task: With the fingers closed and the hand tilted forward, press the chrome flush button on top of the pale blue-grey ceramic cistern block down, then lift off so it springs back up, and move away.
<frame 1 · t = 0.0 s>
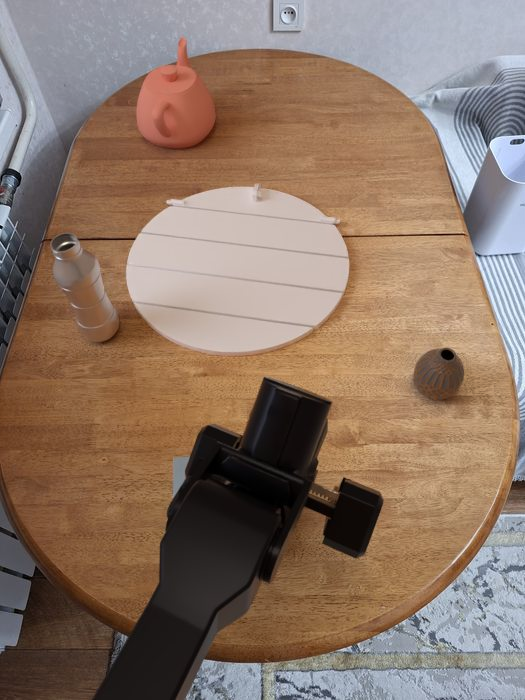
hand: (296, 474, 61), 14 cm above the table, tool tilted 35°, fingers open, 9 cm apart
lazy susan: (238, 263, 98), on the table
flush button: (210, 477, 67), point 9 cm above the table, slide at 0.1 cm
cistern: (217, 515, 73), on the table
teapot: (179, 126, 121), on the table
plastic bottle: (102, 331, 90), on the table
vase: (432, 387, 83), on the table
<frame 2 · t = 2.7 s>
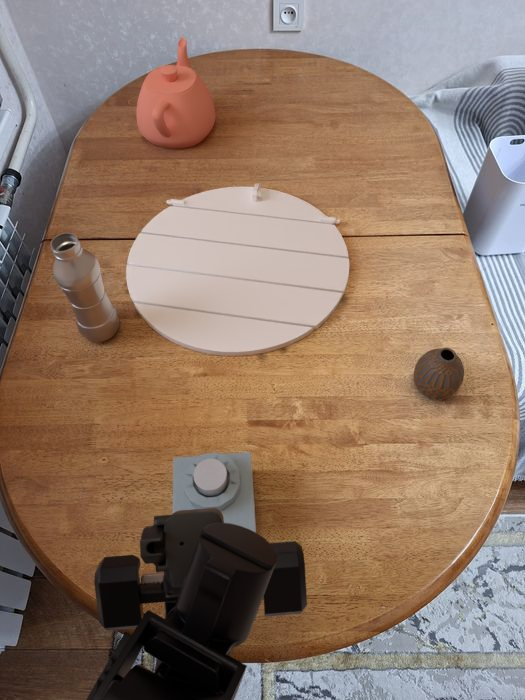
hand: (207, 539, 58), 13 cm above the table, tool tilted 45°, fingers closed
nothing on the table moved.
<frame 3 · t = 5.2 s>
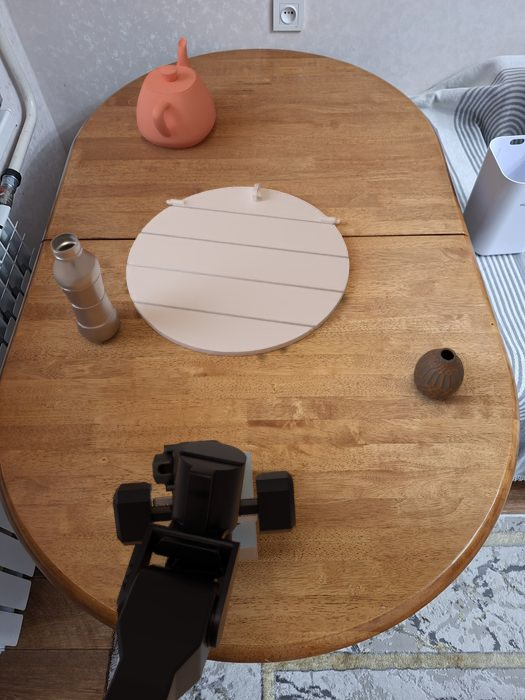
hand: (210, 475, 66), 9 cm above the table, tool tilted 45°, fingers closed, pressing on flush button
flush button: (211, 479, 67), point 8 cm above the table, slide at -0.7 cm, touching gripper
everything else where it was.
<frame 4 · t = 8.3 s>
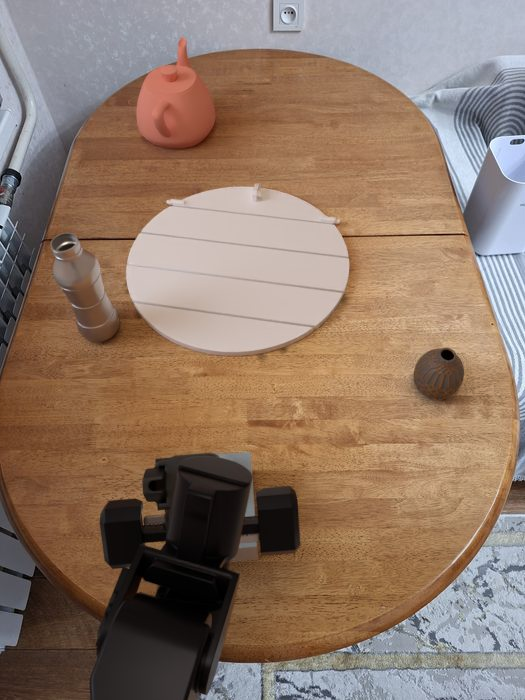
hand: (206, 490, 61), 13 cm above the table, tool tilted 45°, fingers closed
flush button: (210, 477, 67), point 9 cm above the table, slide at 0.1 cm
everything else where it was.
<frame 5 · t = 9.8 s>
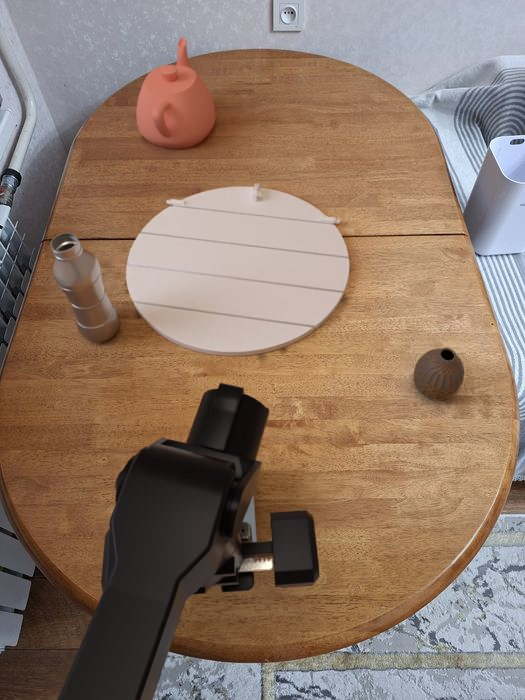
hand: (219, 571, 56), 13 cm above the table, tool pointing down, fingers closed
nothing on the table moved.
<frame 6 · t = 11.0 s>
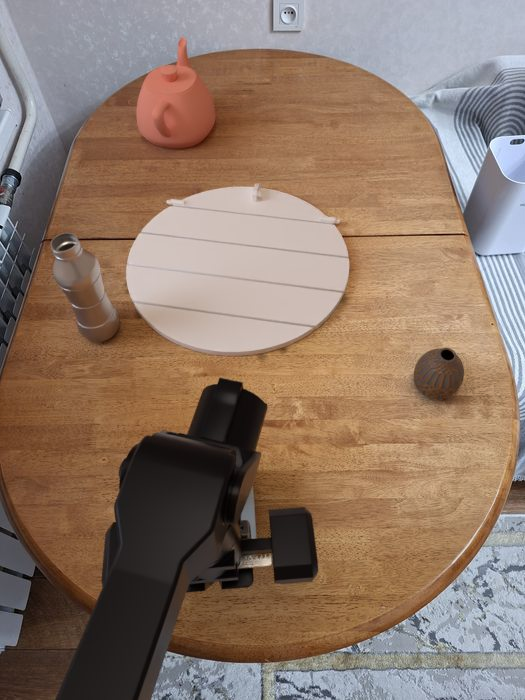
hand: (218, 572, 56), 13 cm above the table, tool pointing down, fingers closed
nothing on the table moved.
at the end: flush button pushed in 1.3 cm at the most during the clip, back to where it started at the end; flush button slide at 0.1 cm; lazy susan moved 0.2 cm from its start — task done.
